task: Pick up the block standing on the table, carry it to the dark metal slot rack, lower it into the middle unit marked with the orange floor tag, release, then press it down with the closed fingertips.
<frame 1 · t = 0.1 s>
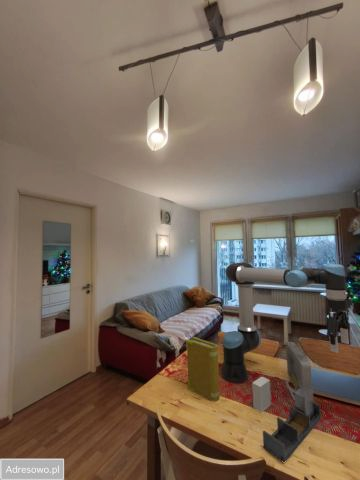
hand: (339, 347, 95), 28 cm above the table, fingers open, 13 cm apart
book: (204, 393, 110), on the table
rack: (294, 432, 84), on the table
network device: (298, 392, 108), on the table
block: (262, 406, 99), on the table
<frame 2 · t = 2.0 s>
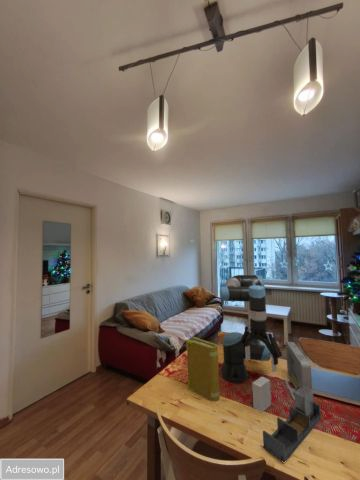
hand: (260, 365, 100), 18 cm above the table, fingers open, 13 cm apart
nothing on the table moved.
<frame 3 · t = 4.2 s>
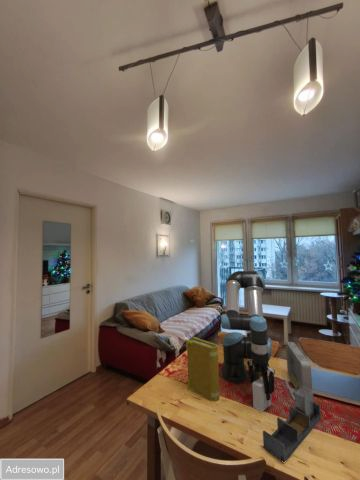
hand: (262, 403, 99), 1 cm above the table, fingers closed on block, 4 cm apart
block: (262, 406, 99), on the table, touching gripper
everything else where it was.
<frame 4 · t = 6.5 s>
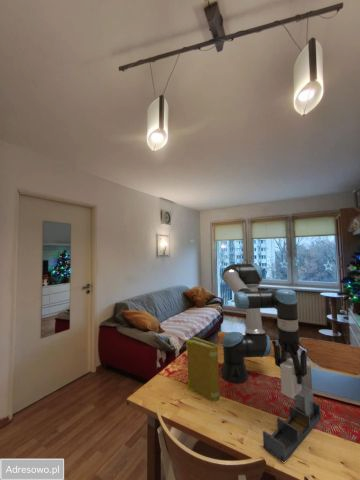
hand: (291, 388, 85), 17 cm above the table, fingers closed on block, 4 cm apart
block: (291, 391, 85), point 15 cm above the table, touching gripper
everything else where it was.
when the fingers open (3 cm above the table, at t = 9.1 s): block drops 1 cm, resting on rack.
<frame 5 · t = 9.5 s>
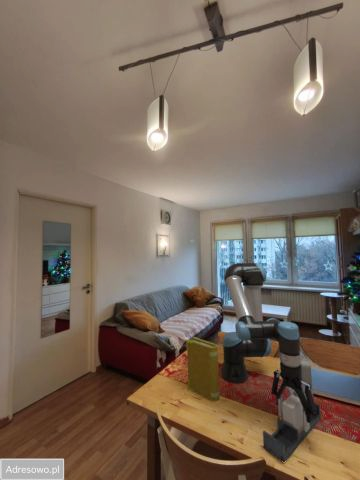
hand: (293, 421, 85), 4 cm above the table, fingers open, 9 cm apart
block: (294, 430, 84), point 1 cm above the table, touching rack
everything else where it was.
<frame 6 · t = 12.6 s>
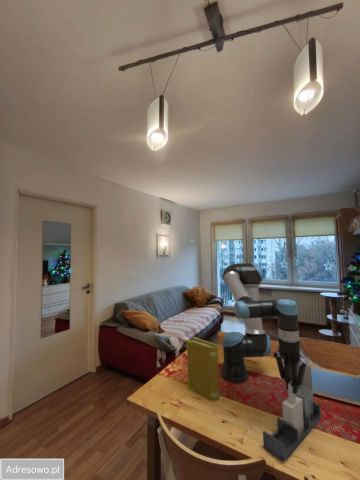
hand: (292, 400, 85), 12 cm above the table, fingers closed
nothing on the table moved.
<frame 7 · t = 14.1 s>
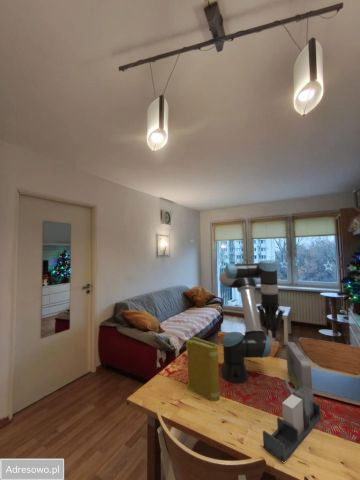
hand: (272, 343, 100), 28 cm above the table, fingers closed
nothing on the table moved.
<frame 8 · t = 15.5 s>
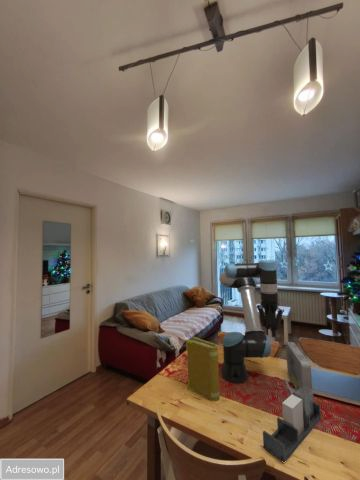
hand: (271, 343, 100), 28 cm above the table, fingers closed
nothing on the table moved.
at the end: block 0.1 cm off-centre on the rack, point 0.7 cm above the rack's base; block tilted 0°; the gripper is holding nothing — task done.
